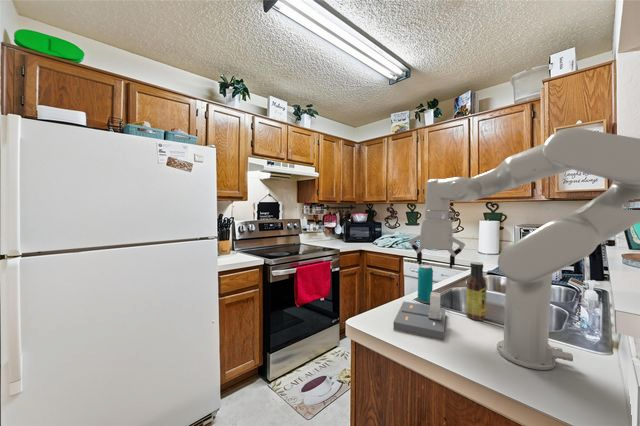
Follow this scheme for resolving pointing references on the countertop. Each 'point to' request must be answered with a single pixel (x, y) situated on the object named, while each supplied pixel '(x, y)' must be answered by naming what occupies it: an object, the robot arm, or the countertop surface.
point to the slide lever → (435, 306)
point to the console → (419, 321)
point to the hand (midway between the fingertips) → (435, 265)
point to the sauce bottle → (476, 293)
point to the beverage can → (425, 283)
